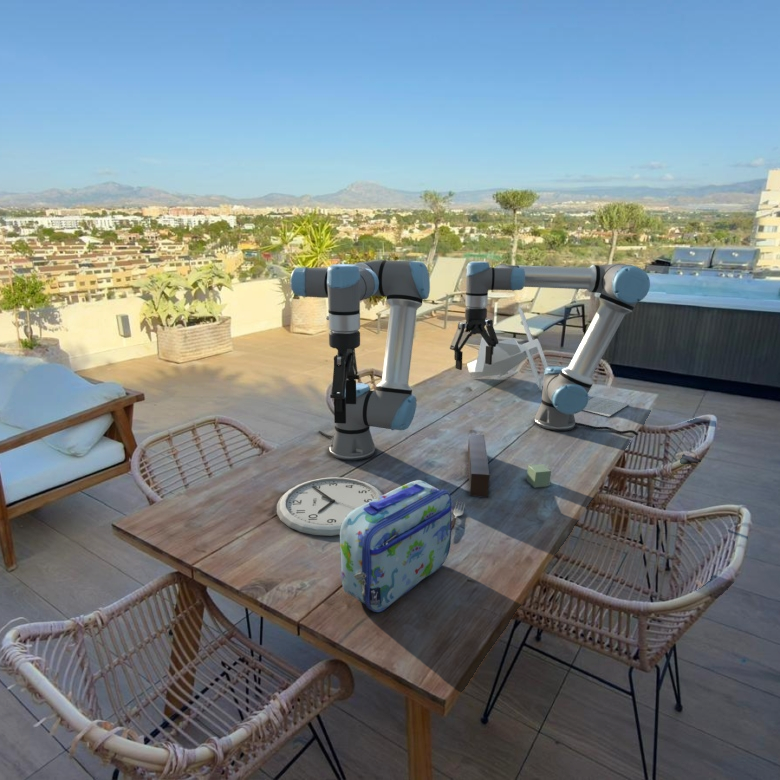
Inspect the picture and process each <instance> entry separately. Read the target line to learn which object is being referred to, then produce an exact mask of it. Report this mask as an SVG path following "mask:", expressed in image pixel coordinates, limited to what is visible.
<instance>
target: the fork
mask: <svg viewBox="0 0 780 780" xmlns="http://www.w3.org/2000/svg"><path fill="white" fill-rule="evenodd" d="M458 501H459V500H457V501H456V504H455V507H454V509H453V514H452V515H454V517H453V519H451V531H452V530H453V529H454V527H455V525H456V520H457V517H461V516H463V514H464V511H465V505H466V502H463V501H459V502H458ZM460 504H461V505H460Z"/></svg>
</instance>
